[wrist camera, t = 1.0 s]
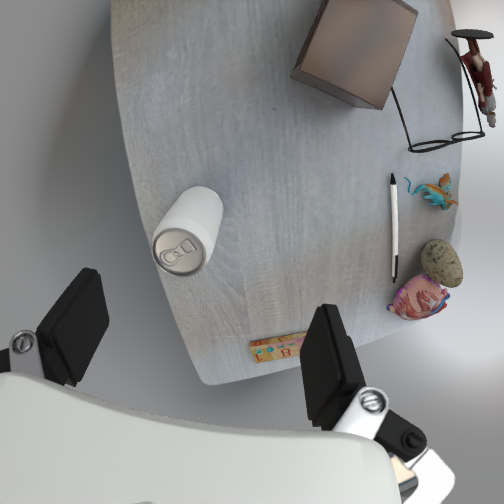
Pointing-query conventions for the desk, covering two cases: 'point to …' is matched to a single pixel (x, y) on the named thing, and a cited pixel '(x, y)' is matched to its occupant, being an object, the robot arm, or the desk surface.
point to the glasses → (454, 140)
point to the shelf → (356, 49)
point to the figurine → (479, 71)
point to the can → (188, 232)
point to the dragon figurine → (437, 192)
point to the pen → (394, 226)
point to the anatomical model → (419, 298)
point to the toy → (277, 347)
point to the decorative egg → (441, 263)
